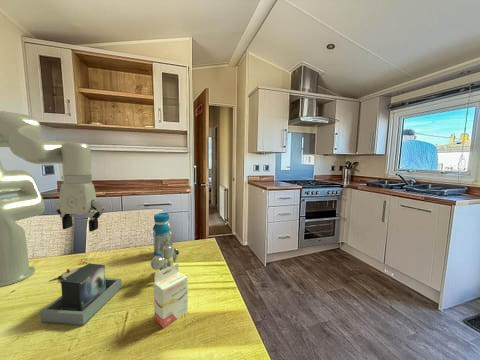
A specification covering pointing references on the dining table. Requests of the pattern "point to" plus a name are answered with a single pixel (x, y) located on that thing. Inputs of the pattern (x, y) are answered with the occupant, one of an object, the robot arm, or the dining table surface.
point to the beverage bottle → (161, 231)
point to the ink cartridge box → (170, 295)
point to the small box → (83, 287)
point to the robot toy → (164, 256)
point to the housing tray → (60, 316)
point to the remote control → (66, 274)
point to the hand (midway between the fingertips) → (80, 228)
